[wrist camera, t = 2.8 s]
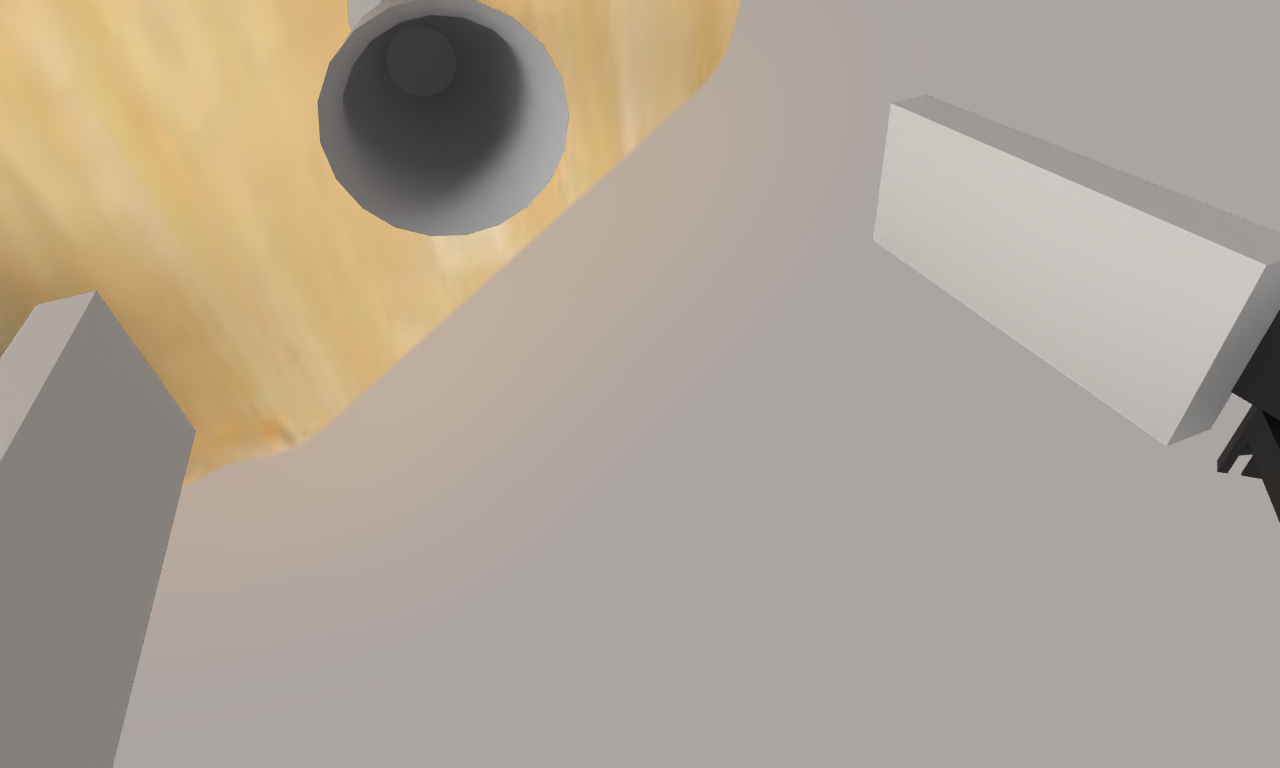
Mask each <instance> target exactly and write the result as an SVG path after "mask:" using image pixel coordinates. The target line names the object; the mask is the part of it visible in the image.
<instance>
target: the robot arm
mask: <svg viewBox="0 0 1280 768" xmlns="http://www.w3.org/2000/svg"><path fill="white" fill-rule="evenodd" d="M873 241H875V242H876V243H878V244H879V245H880V246H882V247H883V248H885V249H886V250H888V251H889V252H890V253H892V254H893V255H895V256H896V257H898V258H899V259H900V260H902V261H903V262H905V263H906V264H908V265H909V266H910V267H912V268H913V269H915V270H916V271H918V272H919V273H920V274H922V275H923V276H925V277H926V278H927V279H929V280H931V281H932V282H933V283H935V284H936V285H938V286H939V287H940V288H942V289H943V290H945V291H946V292H947V293H949V294H950V295H952V296H953V297H955V298H956V299H958V300H959V301H960V302H962V303H963V304H965V305H966V306H968V307H969V308H970V309H972V310H973V311H975V312H976V313H977V314H979V315H980V316H982V317H983V318H984V319H986V320H987V321H989V322H990V323H992V324H993V325H994V326H996V327H997V328H999V329H1000V330H1002V331H1003V332H1004V333H1006V334H1007V335H1009V336H1010V337H1012V338H1013V339H1015V340H1016V341H1017V342H1019V343H1020V344H1022V345H1023V346H1025V347H1026V348H1027V349H1029V350H1030V351H1032V352H1033V353H1034V354H1036V355H1037V356H1039V357H1040V358H1042V359H1043V360H1044V361H1046V362H1047V363H1049V364H1050V365H1052V366H1053V367H1054V368H1056V369H1057V370H1059V371H1060V372H1062V373H1063V374H1064V375H1066V376H1067V377H1069V378H1070V379H1072V380H1073V381H1074V382H1076V383H1077V384H1079V385H1080V386H1082V387H1083V388H1084V389H1086V390H1087V391H1089V392H1090V393H1091V394H1093V395H1094V396H1096V397H1097V398H1099V399H1100V400H1101V401H1103V402H1104V403H1106V404H1107V405H1109V406H1110V407H1111V408H1113V409H1114V410H1116V411H1117V412H1119V413H1120V414H1122V415H1123V416H1125V417H1126V418H1127V419H1129V420H1130V421H1132V422H1133V423H1134V424H1136V425H1137V426H1139V427H1140V428H1141V429H1143V430H1144V431H1146V432H1147V433H1149V434H1150V435H1152V436H1153V437H1154V438H1156V439H1157V440H1159V441H1160V442H1161V443H1163V444H1164V445H1166V446H1168V445H1171V444H1173V443H1176V442H1178V441H1181V440H1184V439H1186V438H1188V437H1191V436H1194V435H1196V434H1199V433H1201V432H1204V431H1206V430H1209V429H1211V427H1212V426H1213V424H1214V422H1215V421H1216V419H1217V417H1218V415H1219V414H1220V412H1221V411H1222V409H1223V407H1224V406H1225V404H1226V402H1227V401H1228V399H1229V397H1230V396H1231V394H1232V393H1234V394H1236V395H1237V396H1239V397H1241V398H1242V399H1244V400H1246V401H1248V402H1249V403H1251V404H1252V407H1251V408H1250V410H1249V411H1248V413H1247V414H1246V416H1245V418H1244V419H1243V421H1242V422H1241V424H1240V425H1239V427H1238V429H1237V430H1236V432H1235V433H1234V435H1233V437H1232V438H1231V440H1230V441H1229V443H1228V445H1227V446H1226V448H1225V449H1224V451H1223V452H1222V454H1221V456H1220V457H1219V459H1218V460H1217V465H1218V466H1217V467H1218V468H1217V471H1218V472H1223V473H1228V471H1229V470H1230V468H1231V467H1232V465H1233V464H1234V462H1235V461H1236V459H1237V458H1238V456H1239V455H1251V454H1252V455H1253V456H1252V458H1251V459H1250V461H1249V462H1248V464H1247V465H1246V467H1245V468H1244V470H1243V472H1242V473H1241V475H1242V476H1248V477H1254V478H1260V479H1262V480H1263V482H1264V485H1265V487H1266V490H1267V492H1268V495H1269V497H1270V499H1271V502H1272V504H1273V507H1274V509H1275V512H1276V514H1277V517H1278V519H1279V522H1280V232H1277V231H1274V230H1272V229H1269V228H1267V227H1264V226H1262V225H1259V224H1257V223H1254V222H1252V221H1249V220H1246V219H1244V218H1241V217H1238V216H1236V215H1233V214H1231V213H1228V212H1226V211H1223V210H1221V209H1218V208H1216V207H1213V206H1211V205H1208V204H1205V203H1202V202H1200V201H1198V200H1195V199H1193V198H1190V197H1187V196H1185V195H1182V194H1180V193H1177V192H1175V191H1172V190H1170V189H1167V188H1165V187H1162V186H1159V185H1157V184H1154V183H1151V182H1149V181H1146V180H1144V179H1141V178H1139V177H1136V176H1134V175H1131V174H1129V173H1126V172H1124V171H1121V170H1118V169H1116V168H1113V167H1111V166H1108V165H1106V164H1103V163H1100V162H1098V161H1095V160H1093V159H1090V158H1088V157H1085V156H1082V155H1080V154H1077V153H1075V152H1072V151H1070V150H1067V149H1065V148H1062V147H1060V146H1057V145H1054V144H1052V143H1049V142H1047V141H1044V140H1042V139H1039V138H1037V137H1034V136H1031V135H1029V134H1026V133H1024V132H1021V131H1018V130H1016V129H1013V128H1010V127H1008V126H1006V125H1003V124H1001V123H998V122H995V121H993V120H990V119H988V118H985V117H983V116H980V115H978V114H975V113H972V112H970V111H967V110H965V109H962V108H960V107H957V106H955V105H952V104H949V103H947V102H944V101H942V100H939V99H937V98H934V97H932V96H929V95H924V96H920V97H915V98H911V99H907V100H903V101H898V102H894V103H891V107H890V115H889V122H888V131H887V138H886V145H885V153H884V161H883V168H882V176H881V183H880V192H879V199H878V206H877V214H876V221H875V229H874V237H873ZM195 432H196V430H195V429H194V428H193V426H192V425H191V423H190V422H189V420H188V419H187V418H186V416H185V415H184V413H183V412H182V411H181V409H180V408H179V406H178V405H177V404H176V402H175V401H174V399H173V398H172V397H171V395H170V394H169V392H168V391H167V389H166V388H165V387H164V385H163V384H162V382H161V381H160V380H159V378H158V377H157V375H156V374H155V373H154V371H153V370H152V368H151V367H150V366H149V364H148V363H147V361H146V360H145V358H144V357H143V356H142V354H141V353H140V351H139V350H138V349H137V347H136V346H135V344H134V343H133V342H132V340H131V339H130V337H129V336H128V335H127V333H126V332H125V330H124V329H123V327H122V326H121V325H120V323H119V322H118V320H117V319H116V318H115V316H114V315H113V313H112V312H111V311H110V309H109V308H108V306H107V305H106V304H105V302H104V301H103V299H102V298H101V296H100V295H99V294H98V292H97V291H92V292H88V293H84V294H80V295H75V296H71V297H67V298H63V299H58V300H54V301H50V302H46V303H41V304H37V305H36V306H35V307H34V309H33V310H32V312H31V313H30V315H29V316H28V318H27V319H26V321H25V322H24V324H23V325H22V327H21V328H20V330H19V331H18V332H17V334H16V335H15V337H14V338H13V340H12V341H11V343H10V344H9V346H8V347H7V349H6V350H5V352H4V353H3V355H2V356H1V357H0V768H113V763H114V759H115V755H116V751H117V747H118V743H119V739H120V735H121V731H122V727H123V723H124V719H125V715H126V711H127V707H128V703H129V699H130V694H131V691H132V687H133V683H134V678H135V674H136V670H137V666H138V662H139V658H140V654H141V650H142V646H143V642H144V638H145V634H146V630H147V626H148V622H149V618H150V614H151V610H152V606H153V602H154V598H155V593H156V589H157V585H158V581H159V577H160V573H161V569H162V565H163V561H164V557H165V553H166V549H167V545H168V541H169V536H170V533H171V529H172V525H173V521H174V517H175V512H176V509H177V504H178V500H179V496H180V492H181V488H182V484H183V480H184V476H185V472H186V468H187V464H188V460H189V456H190V452H191V448H192V444H193V440H194V436H195Z"/></svg>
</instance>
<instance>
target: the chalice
mask: <svg viewBox="0 0 1280 768" xmlns="http://www.w3.org/2000/svg"><path fill="white" fill-rule="evenodd" d="M348 15H349V24H350V27H351V29H352V31H351V32H350V34H349V35H348V36H347V38H346V40H345V43H344V44H343V46H342V47H341V48H340V50H339V51H338V52H337V54H336V55H335V56H334V58H333V59H332V60H331V61H330V63H329V66H328V70H327V73H326V76H325V79H324V83H323V86H322V89H321V93H320V96H319V99H318V115H319V130H320V143H321V145H322V148H323V150H324V152H325V154H326V157H327V159H328V161H329V164H330V166H331V168H332V171H333V173H334V175H335V177H336V179H337V180H338V182H339V183H340V184H341V185H342V186H343V187H344V188H345V189H346V190H347V191H348V193H349V194H350V195H351V196H352V197H353V198H354V199H355V200H356V201H357V203H358V204H359V205H360V206H361V207H362V208H363V209H365V210H367V211H368V212H370V213H372V214H374V215H375V216H377V217H379V218H380V219H382V220H384V221H386V222H387V223H389V224H391V225H392V226H394V227H396V228H400V229H404V230H409V231H413V232H417V233H421V234H425V235H429V236H448V235H468V234H471V233H474V232H477V231H481V230H484V229H487V228H490V227H494V226H497V225H499V224H501V223H503V222H504V221H506V220H507V219H509V218H511V217H512V216H514V215H515V214H517V213H518V212H520V211H522V210H523V209H525V208H526V207H528V206H529V204H530V203H531V202H532V201H533V200H534V199H535V198H536V197H537V195H538V194H539V193H540V192H541V191H542V190H543V189H544V188H545V187H546V185H547V184H548V183H549V182H550V180H551V178H552V176H553V174H554V172H555V170H556V167H557V165H558V163H559V161H560V159H561V157H562V155H563V152H564V150H565V142H566V135H567V127H568V120H569V112H568V107H567V101H566V96H565V91H564V86H563V80H562V77H561V75H560V74H559V72H558V70H557V68H556V67H555V65H554V63H553V61H552V59H551V58H550V56H549V54H548V52H547V51H546V49H545V47H544V45H543V44H542V43H541V42H540V41H539V40H538V39H537V38H535V37H534V36H533V35H532V34H531V33H530V32H529V31H528V30H527V29H525V28H524V27H523V26H522V25H521V24H520V23H519V22H518V21H517V20H515V19H514V18H513V17H512V16H509V15H507V14H505V13H502V12H500V11H498V10H495V9H493V8H491V7H488V6H486V5H484V4H482V3H479V2H477V1H475V0H349V2H348Z"/></svg>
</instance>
